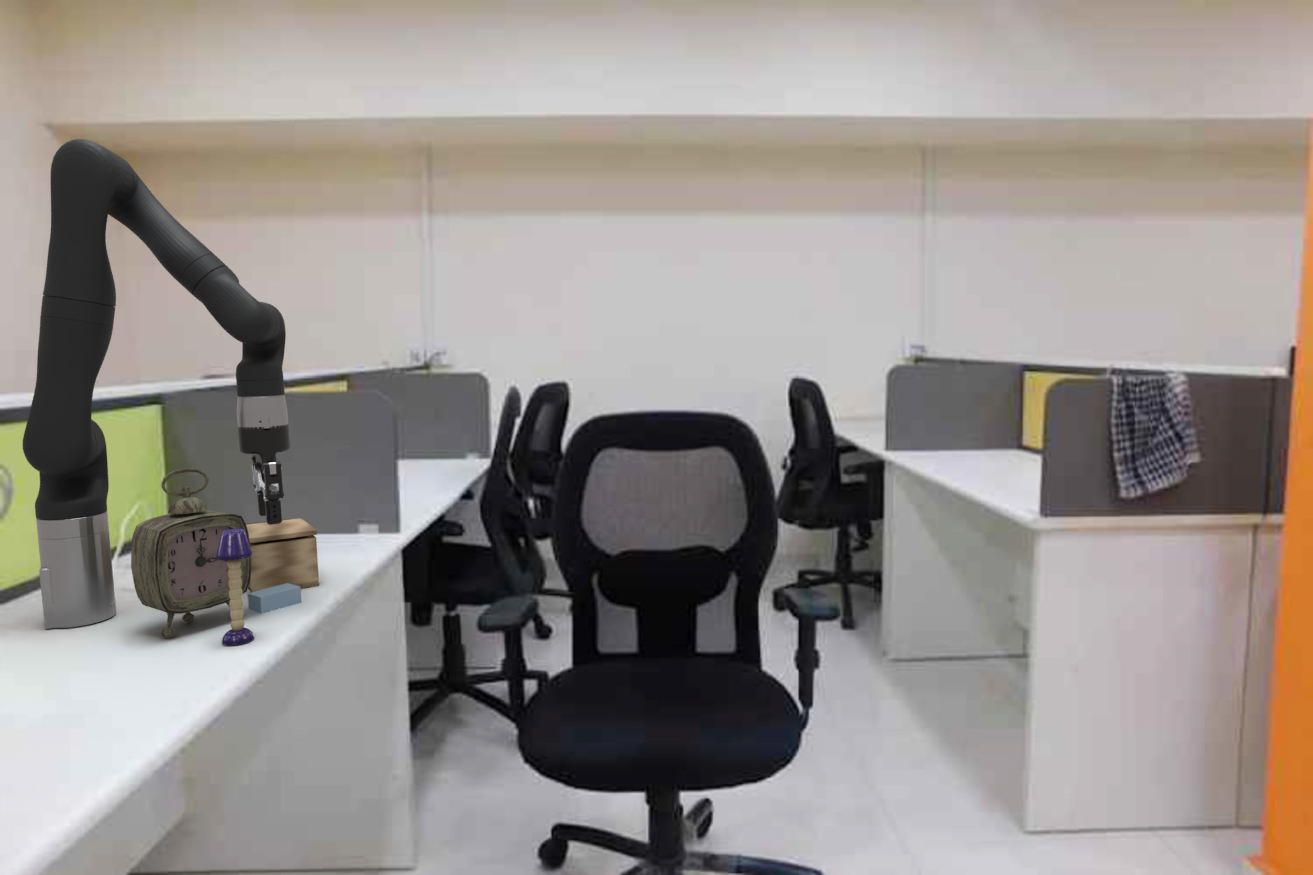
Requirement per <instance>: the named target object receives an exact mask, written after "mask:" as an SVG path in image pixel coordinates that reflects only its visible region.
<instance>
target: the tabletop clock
mask: <svg viewBox="0 0 1313 875" xmlns="http://www.w3.org/2000/svg"><path fill="white" fill-rule="evenodd" d="M184 473H197V474H200V475H201V476H203V478H204V480H205V481H204V483H203V484H202V485H201V486H199V487H196V488H194V489H191V487H190V486H189V485H184V486H182V488H181V489H182V490H181V491H172V490H169V489H167V488H166V483H167V481H168V480H169V479H171V477H173V476H175V475H179V474H184ZM209 480H210V479H209V476H208V474H207V472H205V471H204V470H202V469H200V468H197V467H185V468H178V469H173V470H172V471H170V472H169V473H167V474H166V475H165V476H164V477H163V478H162V481H161V485H160V486H161V489H162V491H163V492H164V493H165V494H167V495H169V496H175V497H179V498H176V499H175V500H174V501H173V502H172V503H171V505H169V507H168V512H167V513H166V514H163V515H158V516H155V517H152V518H148V519H146V520H144V521H141V522H140V523H138V524H137V525H136V526H135V528H134V531H133V534H132V536H131V537H132V538H131V545H130V547H131V548H130V550H131V551H130V553H131V554H130V558H131V559H130V568H131V574H132V579H133V584H134V585H133V586H134V589H135V592H136V593H135V594H136V596H137V598H138V600H139V601H140V604H142V606H144V607H147V608H150V609H151V608H152V609H153V610H157V611H161V612H164V613H166V615H167V619H166V626H165V627H164V628H163V629H162V630H161V636H162V638H165V639H169V638H172V637H173V636H174V635H175V629H174V628H173V627H172V625H173V621H174V619H175V618H174V617H175V615H183V616H182V618H181V619H182V621H183V622H184V623H185V624H190V623H192V622H193V620H194V619H195V616H194V614H193V612H198V611H202V610H207V609H211V608H214V607H217V606H220V605H223V604H226V605H227V606H228V608H230V605H229V603H230V600H231V599H230V597H229V590H230V588H229V585H228V581H229V579H230V578H229V577H228V570H229V567H228V565H227V561H228V560H218V559H217V558H216V555H217V550H218V546H219V541H220V537H221V534H222V532H223V531H225V530H230V529H243V530H244V531H245V533H246V536H247V539H248V542H249V545H250V540H249V534H248V530H247V526H246V524H247V523H246V521H245V520H244V518H243V516H242V515H239V514H235V513H234V514H233V513H229V512H223V511H217V510H212V509H207V505H206V504H205V502H204V501H203V500H202V499H201V498H200V497H196V496H192V495H195V494H198V493H200V492H201V491H203V490H204V489H205V488H206V487H207V486H208V484H209ZM250 548H251V547H250ZM240 569H241V577H240V578H241V580H242V586H241V589H242V592H243V593H242V596H243V595H244V594H245V593H248V591H249V589H248V587H249V583H250V578H251V556H250V557H248V558H244V559H241V566H240Z"/></svg>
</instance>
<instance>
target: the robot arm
mask: <svg viewBox="0 0 1313 875" xmlns="http://www.w3.org/2000/svg"><path fill="white" fill-rule="evenodd" d="M50 165H51V166H50V235H49V244H48V250H47V257H46V258H47V261H46V270H45V279H44V280H45V281H44V286H43V291H42V299H41V308H40V317H39V333H38V334H39V335H38V344H37V346H38V347H37V357H36V358H37V360H36V381H35V387H34V393H33V396H32V401H31V405H30V409H29V414H28V417H27V421H26V424H25V429H24V433H23V437H22V450H23V454H24V457H25V459H26V461H27V462H28V464H29V465H30V466H31V467H32V468H33V469H34V470H36V471H38V472H39V490H38V494H37V497H36V499H35V502H34V511H35V522H36V523H35V524H36V531H37V532H36V533H37V542H38V553H39V561H40V562H39V564H40V567H39V570H38V571H39V572H38V573H39V583H40V591H41V602H42V612H43V613H42V614H43V622H44V623H43V624H44V629H45V630H49V629H61V628H62V629H65V628H74V627H75V628H76V627H82V626H83V627H84V626H88V625H92V624H95V623H99V622H102V621H105V620H108V619H111V618H112V617H114V616H115V615H116V614H117V609H116V608H117V607H116V605H117V604H116V602H117V601H116V596H115V585H114V572H113V561H112V560H113V559H112V549H111V540H110V529H109V528H110V526H109V525H110V524H109V516H108V504H107V503H108V501H107V500H108V495H109V489H110V488H109V486H110V483H109V481H110V480H109V467H108V463H109V462H108V450H107V449H108V448H107V442H106V437H105V435H104V431H103V430H102V428H101V427H100V426H99V424H98V423H97V422H96V421H94V420H93V419H92V410H93V409H92V408H93V396H94V395H93V394H94V391H95V390H94V389H95V385H96V383H97V382H96V380H97V379H98V375H99V373H100V370H101V368H102V365H103V362H104V360H105V357H106V356H107V353H108V349H109V346H110V343H111V340H112V335H113V330H114V321H115V316H116V315H115V313H116V306H117V291H116V290H117V289H116V283H115V279H114V275H113V271H112V267H111V263H110V259H109V254H108V253H109V252H108V250H107V243H106V241H107V240H106V238H107V236H106V235H107V234H106V233H107V222H108V218H109V217H108V216H110V217H111V218H112V219H115V220H116V221H118V222H119V223H120V224H122V225H123V226H124V227H126V228H127V229H128V230H129V231H131V233H133V234H134V235H135V236H136V237H137V238H138V239H140V241H141V242H142V243H143V244H144V245H145V246H146V247H147V248H148V249H149V250H150V251H151V253H152V255H153V256H154V257H155V259H156V260H158V261H157V262H159V263H160V265H161V266H162V267H163V268H164V269H165V270H166V271H167V272H168V273H169V275H171V276H172V278H174V280H176V282H178V283H179V284H180V285H181V286H182V287H183V288H185V289H186V290H187V292H189V293H190V294H191V295H192V296H193V297H194V298H195V299H196V300H198V301H199V302H201V304H202V305H204V307H205V308H206V310H207V311H208V312H209V314H210V315H211V316H212V317H213V318H214V320H215V321H216V323H217V324H218V325H219V326H220V327H221V328H222V329H223V330H224V331H225V332H226V333H227V334H228V335H230V336H231V337H232V338H233V339H235V340H237V341H238V342H240V343H242V347H241V349H242V354H241V361H239V362H238V363H237V365H236V368H235V381H236V382H235V384H236V393H237V394H236V395H237V398H236V399H237V400H236V402H237V403H236V404H237V405H236V419H237V420H236V421H237V434H238V444H239V445H238V447H239V451H240V453H242V454H246V455H251V460H252V463H251V471H252V481H253V488H254V492H255V493H256V495H257V506H258V508H257V509H258V514H259V516H261V517H264V516H265V518H266V519H265V522H267V523H268V524H269V525H272V524H280V523H281V522H282V520H283V519H282V518H283V516H282V504H281V502H282V499H284V496H285V494H284V489H283V488H284V487H283V476H282V463H281V461H279V460H277V456H276V454H277V453H283V452H286V451H287V452H288V451H289V450H290V448H291V445H290V444H291V443H290V442H291V441H290V429H289V427H290V426H289V414H288V413H289V412H288V406H287V402H286V395H285V381H284V379H285V378H284V371H283V364H284V359H285V350H286V349H285V348H286V337H287V336H286V324H285V319H284V317H283V315H282V313H281V311H280V310H279V309H278V307H276V306H274V305H272V304H270V303H268V302H264V301H259V300H257V298H255V297H254V296H252V294H251V293H249V292H248V291H247V290H246V288H244V287H243V285H241V284H240V279H239V278H238V276H237V275H236V274H235V273H234V271H233V270H232V269H231V268H230V267H229V266H228V265H226V263H224V262H223V261H222V260H221V259H220V258H219V257H218V256H217V255H215V253H214V252H213V251H212V250H210V249H209V248H208V247H207V246H206V245H205V244H204V243H203V242H201V241H200V240H199V239H198V238H197V237H196V236H194V235H193V234H192V233H191V232H190V231H189V230H188V229H187V228H185V227H184V226H183V225H182V224H181V223H180V222H179V221H178V220H177V219H176V218H175V217H174V216H173V215H172V214H171V213H170V212H169V211H168V210H167V209H166V208H165V206H164V205H163V204H162V203H161V202H160V201H159V200H158V199H157V197H156V196H155V195H154V194H153V192H152V191H151V190H150V188H148V186H147V185H146V183H145V182H144V181H143V180H142V178H141V177H140V176H139V174H138V173H137V172H136V171H135V170H134V168H133V167H132V166H131V165H130V163H129V162H128V161H127V160H126V159H124V157H122V156H120V155H119V154H118V153H116V152H113V151H111V150H110V149H108V148H107V147H105V146H103V145H101V144H99V143H97V142H94V141H91V140H89V139H84V138H75V139H71V140H69V141H67V142H65V143H64V144H62V145H61V146H60V147H59V148H58V149H57V151H55V153H54V156H53V158H52V162H51V164H50ZM274 490H275V491H274Z"/></svg>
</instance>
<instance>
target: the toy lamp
mask: <svg viewBox="0 0 1313 875" xmlns="http://www.w3.org/2000/svg"><path fill="white" fill-rule="evenodd" d="M251 555H252V551H251V548H250V545H249V542H248V539H247V536H246V533H245V531H244V530H243V529H230V530H225V531H223V532H222V534H221V537H220V541H219V546H218V550H217V555H216V558H217V559H218V560H228V561H227V565H228V567H229V570H228V577H229V578H230V579H229V581H228V585H229V588H230V590H229V597H230V599H231V600H230V603H229V605H230V607H229V608H230V611H229V616H230V619H231V620H230V627H231V629H229V630H228V631H226V632H225V633H224V634H223V637H222V640H221V644H222V645H223V646H229V645H232V646H238V644H240V645H244V644H247V643H250V642H253V640H255V636H254V633H253V631H252V630H251V629H250V628H248V627H244V626H245V621H244V615H245V613H244V609H243V607H244V600H243V598H242V597H243V595H242V593H243V592H242V589H241V586H242V580H241V578H240V577H241V569H240V566H241V559H244V558H248V557H250V556H251ZM249 641H250V642H249ZM243 643H244V644H243Z"/></svg>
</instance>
